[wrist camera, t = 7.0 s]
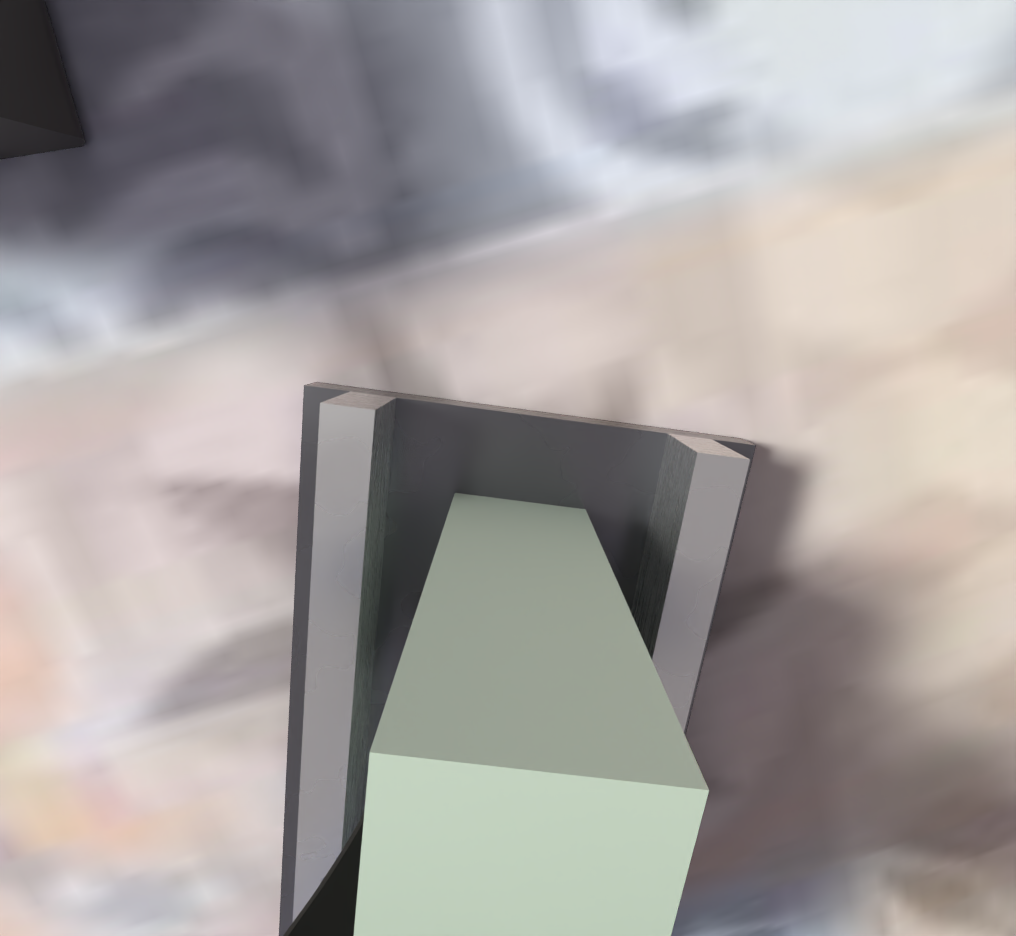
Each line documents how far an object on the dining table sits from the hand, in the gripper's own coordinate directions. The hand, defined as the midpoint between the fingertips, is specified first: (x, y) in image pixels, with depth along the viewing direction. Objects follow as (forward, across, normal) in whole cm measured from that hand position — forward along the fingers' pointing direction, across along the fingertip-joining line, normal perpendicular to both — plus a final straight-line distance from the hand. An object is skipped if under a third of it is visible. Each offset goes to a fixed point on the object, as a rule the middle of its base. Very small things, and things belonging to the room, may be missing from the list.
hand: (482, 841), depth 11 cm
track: (+4, 0, 0) cm, 4 cm away
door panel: (+3, 0, 0) cm, 3 cm away
